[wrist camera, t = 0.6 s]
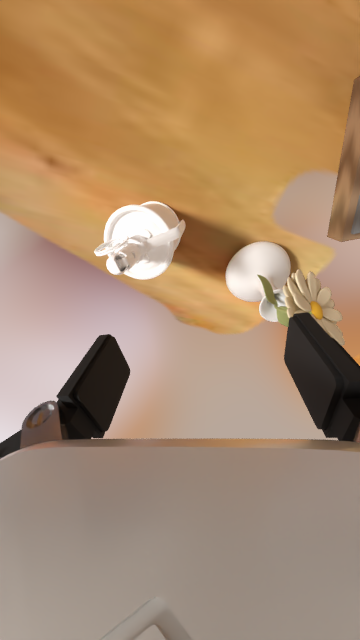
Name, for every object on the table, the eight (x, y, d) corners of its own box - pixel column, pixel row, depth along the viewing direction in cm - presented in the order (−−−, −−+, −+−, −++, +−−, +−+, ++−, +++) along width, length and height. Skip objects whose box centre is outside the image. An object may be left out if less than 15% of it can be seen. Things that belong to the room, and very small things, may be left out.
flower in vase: (293, 282, 37) (409, 394, 17) (237, 305, 41) (273, 420, 21) (274, 216, 32) (413, 262, 11) (211, 251, 36) (225, 333, 15)
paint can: (143, 263, 38) (99, 318, 21) (121, 213, 33) (42, 233, 17) (194, 246, 35) (189, 293, 19) (177, 188, 31) (150, 184, 14)
